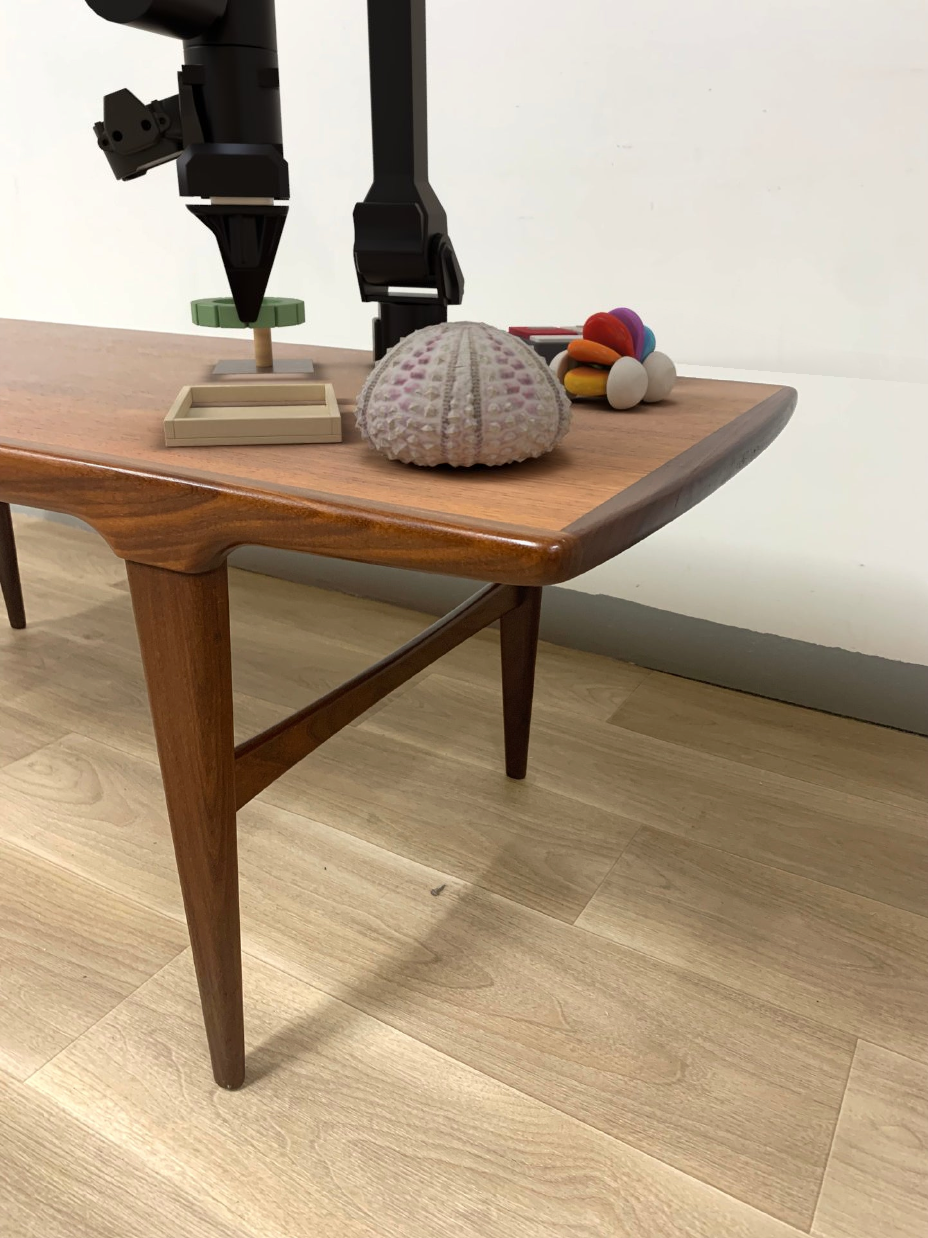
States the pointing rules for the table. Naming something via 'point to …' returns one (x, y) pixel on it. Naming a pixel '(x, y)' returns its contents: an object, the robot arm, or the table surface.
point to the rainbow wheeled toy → (615, 361)
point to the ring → (225, 316)
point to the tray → (253, 416)
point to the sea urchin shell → (462, 399)
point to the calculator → (548, 339)
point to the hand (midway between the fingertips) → (250, 316)
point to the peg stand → (263, 360)
